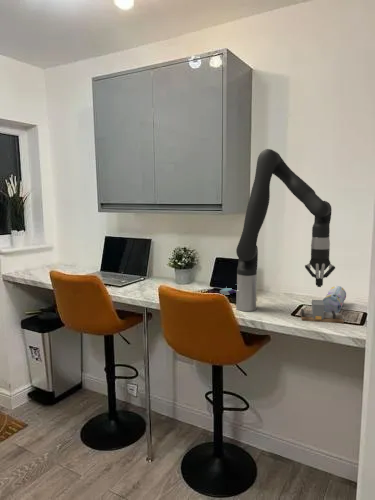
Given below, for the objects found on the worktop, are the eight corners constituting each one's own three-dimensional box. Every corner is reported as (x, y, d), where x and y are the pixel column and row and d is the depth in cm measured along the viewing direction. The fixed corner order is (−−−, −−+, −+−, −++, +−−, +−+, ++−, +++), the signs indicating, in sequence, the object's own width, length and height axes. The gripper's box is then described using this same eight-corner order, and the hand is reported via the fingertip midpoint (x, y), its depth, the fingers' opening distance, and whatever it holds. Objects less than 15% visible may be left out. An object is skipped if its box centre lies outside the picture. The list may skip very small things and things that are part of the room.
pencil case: (340, 316, 164) (341, 296, 162) (320, 313, 168) (320, 293, 167) (346, 304, 181) (347, 285, 180) (327, 302, 186) (328, 284, 184)
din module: (312, 319, 157) (313, 304, 156) (311, 312, 165) (311, 299, 165) (323, 319, 156) (324, 305, 155) (321, 313, 164) (322, 300, 163)
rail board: (301, 320, 158) (301, 313, 158) (300, 314, 167) (300, 307, 167) (343, 323, 154) (343, 316, 154) (340, 316, 163) (340, 310, 162)
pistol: (218, 296, 200) (228, 290, 213) (245, 300, 193) (254, 293, 206) (218, 289, 199) (228, 283, 212) (245, 292, 192) (254, 286, 205)
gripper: (304, 248, 155) (303, 288, 157) (338, 248, 151) (336, 289, 154) (303, 246, 162) (302, 284, 164) (335, 246, 159) (334, 285, 161)
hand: (319, 286), depth 159 cm, fingers closed
